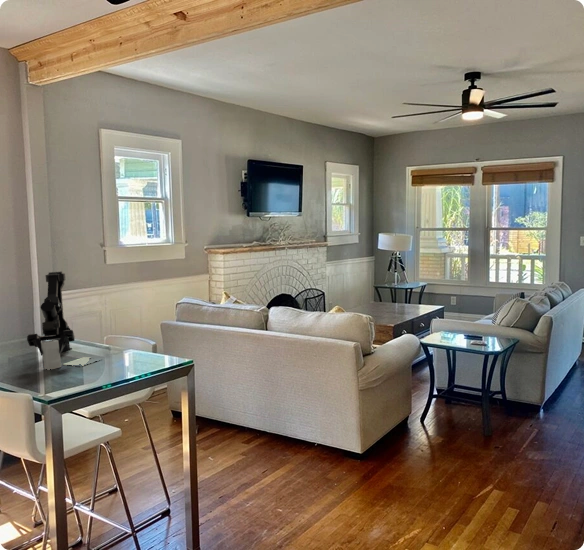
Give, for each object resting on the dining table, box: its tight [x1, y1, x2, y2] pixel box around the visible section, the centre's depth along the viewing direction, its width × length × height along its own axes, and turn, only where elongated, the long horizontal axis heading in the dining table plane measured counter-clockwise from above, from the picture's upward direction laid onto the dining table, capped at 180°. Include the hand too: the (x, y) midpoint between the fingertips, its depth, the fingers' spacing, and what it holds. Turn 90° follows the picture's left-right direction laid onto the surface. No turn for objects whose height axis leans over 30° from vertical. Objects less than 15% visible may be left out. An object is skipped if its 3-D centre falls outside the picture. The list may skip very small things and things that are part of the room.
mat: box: [62, 356, 90, 367], centre depth 246 cm, size 12×12×1 cm
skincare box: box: [41, 340, 63, 371], centre depth 238 cm, size 6×4×12 cm
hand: (50, 354), depth 237 cm, fingers closed on skincare box, 7 cm apart
